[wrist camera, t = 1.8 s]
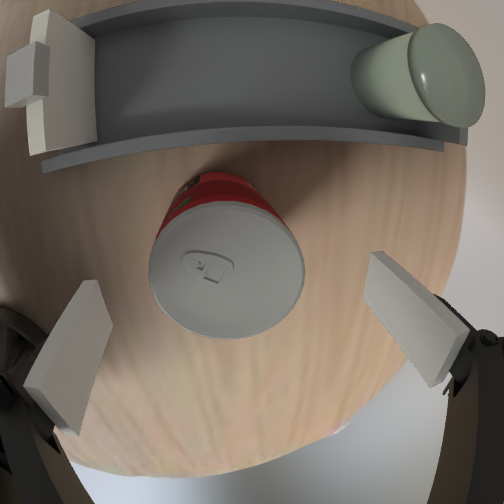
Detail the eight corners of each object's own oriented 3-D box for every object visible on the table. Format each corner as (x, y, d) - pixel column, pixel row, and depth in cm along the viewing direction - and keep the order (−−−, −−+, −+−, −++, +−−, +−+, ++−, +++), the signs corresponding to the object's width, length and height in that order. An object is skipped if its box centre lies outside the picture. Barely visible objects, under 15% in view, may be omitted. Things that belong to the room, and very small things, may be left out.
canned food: (179, 161, 21) (156, 189, 11) (275, 181, 23) (328, 224, 13) (164, 248, 24) (142, 330, 14) (252, 263, 26) (281, 346, 16)
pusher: (80, 145, 18) (8, 162, 9) (78, 45, 14) (14, 12, 5) (102, 140, 18) (36, 152, 9) (100, 38, 14) (43, -3, 6)
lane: (65, 165, 19) (21, 182, 13) (61, 44, 14) (20, 25, 8) (416, 146, 23) (466, 157, 17) (412, 42, 18) (459, 32, 12)
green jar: (349, 116, 20) (420, 117, 12) (345, 37, 17) (409, 7, 9) (414, 125, 21) (486, 135, 13) (410, 55, 18) (479, 44, 10)
